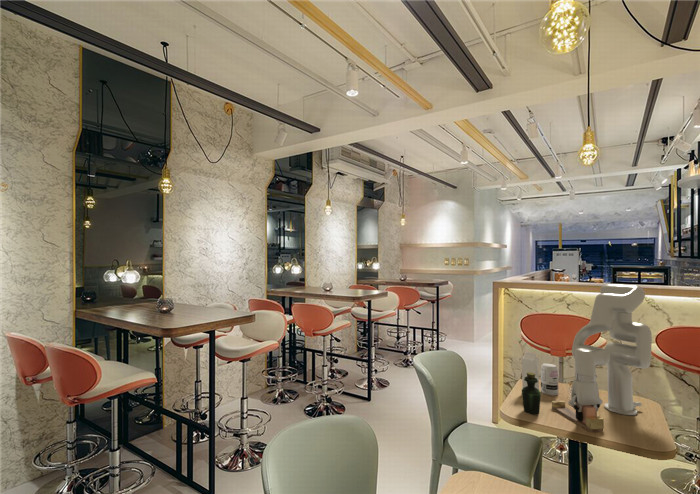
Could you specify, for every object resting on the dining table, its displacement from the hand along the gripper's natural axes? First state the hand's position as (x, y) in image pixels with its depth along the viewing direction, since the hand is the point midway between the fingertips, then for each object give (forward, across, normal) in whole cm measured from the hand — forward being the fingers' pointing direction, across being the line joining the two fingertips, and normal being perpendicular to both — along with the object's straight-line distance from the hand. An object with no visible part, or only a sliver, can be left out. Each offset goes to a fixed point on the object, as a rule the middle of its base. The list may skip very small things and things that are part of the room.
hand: (586, 419), depth 153 cm
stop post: (+1, 0, +5) cm, 5 cm away
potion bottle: (+3, +15, -15) cm, 22 cm away
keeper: (+1, 0, 0) cm, 1 cm away
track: (+3, 0, -6) cm, 7 cm away
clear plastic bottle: (+3, +1, -36) cm, 37 cm away
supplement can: (+3, -10, -36) cm, 38 cm away
